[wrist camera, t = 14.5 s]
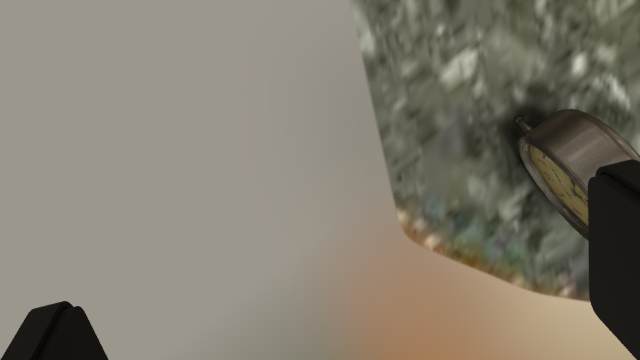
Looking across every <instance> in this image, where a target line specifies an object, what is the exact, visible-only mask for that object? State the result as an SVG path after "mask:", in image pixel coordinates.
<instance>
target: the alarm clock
mask: <svg viewBox="0 0 640 360" xmlns="http://www.w3.org/2000/svg"><path fill="white" fill-rule="evenodd" d="M514 122H515V123H516V124H519V125H520V127H521V129H522V130H523V131H524V133H525V134H526V135H525V136H523V137H522V138H520V139H519V141H518V150H519V153H520V156H521V159H522V161H523V163H524V165H525V167H526V168H527V170H528V172H529V173H530V175H531V177H532V178H533V180H534V181H535V183H536V184H537V185H538V187H539V188H540V189H541V191H542V192H543V193H544V195H545V196H546V197H547V199H548V200H549V201H550V202H551V203H552V205H553V206H554V207H555V208H556V209H557V210H558V212H559V213H560V214H561V215H562V216H563V217H564V218H565V219H566V220H567V221H568V223H569V224H570V225H571V226H572V227H573V228H574V229H576V230H577V231H578V232H579V233H580V234H581V235H582V236H583V237H584V238H585V239H587V240H588V241H589V236H588V181H589V179H590V178H591V177H594V176H595V174H596V171H597V169H598V168H599V167H602V166H606V165H610V164H614V163H618V162H622V161H626V160H630V159H634V160H637V161H639V162H640V155H639V154H638V153H637V152H636V151H635V150H634V149H633V148H632V147H631V146H630V144H629V143H628V142H627V141H626V140H625V139H623V138H622V137H621V136H620V135H619V134H618V133H617V132H616V131H614V130H613V129H612V128H611V127H609V126H608V125H606V124H605V123H603V122H602V121H601V120H599V119H597V118H596V117H594V116H592V115H590V114H588V113H585V112H582V111H579V110H573V109H566V110H561V111H558V112H556V113H555V114H553V115H552V116H551V117H549V118H548V119H547V120H545V121H544V122H542V123H541V124H540V125H538V126H537V127H536V128H534V129H533V128H532V127H531V126H530V125H528V124H527V123H525V122H523V119H522V117H520V116H517V117H516V118H515V119H514Z"/></svg>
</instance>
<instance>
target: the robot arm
mask: <svg viewBox="0 0 640 360" xmlns="http://www.w3.org/2000/svg"><path fill="white" fill-rule="evenodd" d="M588 236H589V296H590V302H591V305H592V307H593V310H594V312H595V313H596V315H597V316H598V317H599V319H600V320H601V321H602V322H603V323H604V324H605V325H606V326H607V327H608V328H609V330H610V331H611V332H612V333H613V334H614V335H615V336H616V337H617V338H618V339H619V341H620V342H621V343H622V344H623V345H624V346H625V347H626V348H627V349H628V351H630V353H632V355H633V356H634V357H635V358H636V359H637V360H640V162H639V161H637V160H634V159H630V160H626V161H622V162H618V163H614V164H610V165H606V166H602V167H599V168H598V169H597V171H596V174H595V176H594V177H591V178H590V179H589V181H588ZM1 360H108V358H107V356H106V354H105V352H104V350H103V348H102V346H101V344H100V342H99V340H98V338H97V336H96V334H95V332H94V330H93V328H92V326H91V324H90V322H89V320H88V318H87V316H86V314H85V312H84V310H83V309H82V308H81V307H79V306H76V307H73V306H72V305H71V304H70V303H69V302H67V301H63V302H59V303H55V304H51V305H47V306H43V307H39V308H35V309H32V310H31V311H30V312H29V313H28V315H27V317H26V318H25V320H24V322H23V323H22V325H21V327H20V328H19V330H18V332H17V333H16V335H15V337H14V338H13V340H12V342H11V343H10V345H9V347H8V348H7V350H6V352H5V354H4V355H3V357H2V358H1Z"/></svg>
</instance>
